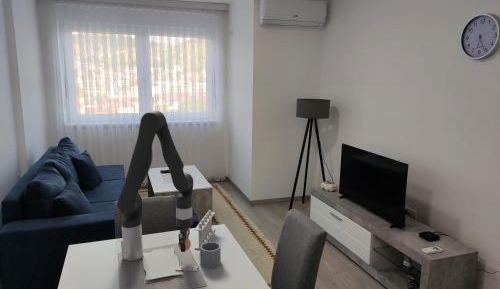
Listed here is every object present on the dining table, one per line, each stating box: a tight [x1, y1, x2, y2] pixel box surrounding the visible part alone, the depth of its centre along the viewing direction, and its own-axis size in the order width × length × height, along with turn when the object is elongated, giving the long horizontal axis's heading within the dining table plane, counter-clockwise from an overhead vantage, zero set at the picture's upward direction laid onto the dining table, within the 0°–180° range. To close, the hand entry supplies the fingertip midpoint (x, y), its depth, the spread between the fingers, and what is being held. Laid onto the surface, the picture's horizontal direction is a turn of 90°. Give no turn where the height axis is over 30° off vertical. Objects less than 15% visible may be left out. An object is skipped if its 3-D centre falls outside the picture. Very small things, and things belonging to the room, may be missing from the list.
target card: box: [179, 265, 199, 272], centre depth 163 cm, size 10×4×1 cm, turn 88°
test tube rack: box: [194, 209, 216, 251], centre depth 192 cm, size 25×4×13 cm, turn 171°
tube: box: [199, 241, 222, 270], centre depth 166 cm, size 9×9×9 cm
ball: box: [177, 238, 192, 251], centre depth 168 cm, size 6×6×6 cm
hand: (184, 248), depth 168 cm, fingers closed on ball, 6 cm apart
